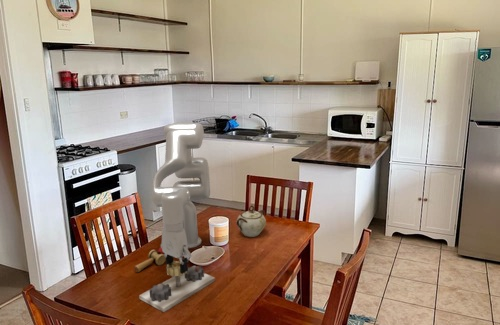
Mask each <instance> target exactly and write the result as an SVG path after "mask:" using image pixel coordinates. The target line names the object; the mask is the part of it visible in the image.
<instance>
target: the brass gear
mask: <svg viewBox="0 0 500 325" xmlns="http://www.w3.org/2000/svg"><path fill="white" fill-rule="evenodd" d="M180 264H181V262H180V260H178V261H177V260H173V261H172V263H168V264H167V267H166V275H167V276H171V278H172V277H175V276H179V277H180V276H182V274H181V272H180ZM186 273H187V271H186V272H185V273H183V274H186Z"/></svg>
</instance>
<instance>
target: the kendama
mask: <svg viewBox="0 0 500 325" xmlns="http://www.w3.org/2000/svg"><path fill="white" fill-rule="evenodd" d="M147 257H148V258H147V259H146V260H144V261H142V262H140V263H138V264H136V265H134V267H133V268H134V271H135V272H136V273H139V272H141V271H142V270H144V268H146V267H148V266H149V265H150V264H151V263H153V262H154V261H155V264H156V265H158V266H162V265H163V264H164V263H166V257H165V256H164V252H163V251H162V248H161V247H159V249H157V250H156V249H151V250H150V251H149V253H148V256H147Z"/></svg>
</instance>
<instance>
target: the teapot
mask: <svg viewBox="0 0 500 325" xmlns="http://www.w3.org/2000/svg"><path fill="white" fill-rule="evenodd" d="M251 208H252V209H251ZM265 215H266V211H265V210H264V209H261V210H259V211H256V210H255V207H254V205H250V206H249V207H248V210H247V211H243V212H241V213H240V214H239V215H238V217H236V225H237V228H238V229H239V231H240V232H241V233H242V235H244V237H249V238H254V237H258V236H259V235H260V234H261V232H263V230H264V229H265V228H266V224H267V220H266V218H265Z"/></svg>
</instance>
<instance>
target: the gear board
mask: <svg viewBox="0 0 500 325" xmlns="http://www.w3.org/2000/svg"><path fill="white" fill-rule="evenodd" d="M215 281H216V277H214V276H212V275H210V274H207V273H205V270H204V268H203V267H202V265H201V266H198V265H197V266H196V265H192V266H191V267H189V266H188V271H187V273H186V274H182V276H180V277H179V276H175V277H171V278H169V279H166V280H165V281H163V282H161V283H158V284H157V285H156V284H154V285H152V287H151V288H149V289H148V290H146V291H145V292H143V293H141V294H139V295H138V296H139V298H138V299H139V300H141V301H142V302H145V303H146V304H148V305H150V306H152V307H153V308H155V309H157V310H159V311H160V312H163V313H165V312H167V311H168V310H170V309H172V308H174V306H177V305H178V304H180V303H181V302H183V301H185V300H186V299H188V298H189V297H191V296H193V295H195V294H196V293H198V292H200V291H201V290H203V289H204V288H206V287H209V285H211V284H212V283H214V282H215Z"/></svg>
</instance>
